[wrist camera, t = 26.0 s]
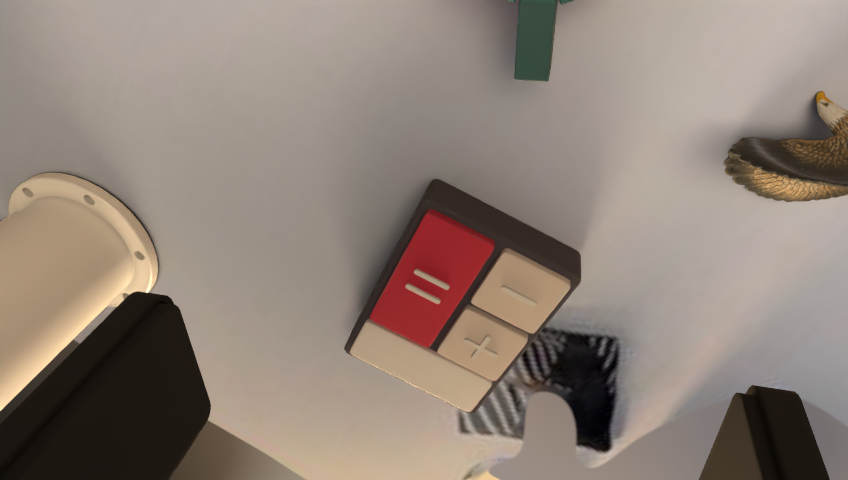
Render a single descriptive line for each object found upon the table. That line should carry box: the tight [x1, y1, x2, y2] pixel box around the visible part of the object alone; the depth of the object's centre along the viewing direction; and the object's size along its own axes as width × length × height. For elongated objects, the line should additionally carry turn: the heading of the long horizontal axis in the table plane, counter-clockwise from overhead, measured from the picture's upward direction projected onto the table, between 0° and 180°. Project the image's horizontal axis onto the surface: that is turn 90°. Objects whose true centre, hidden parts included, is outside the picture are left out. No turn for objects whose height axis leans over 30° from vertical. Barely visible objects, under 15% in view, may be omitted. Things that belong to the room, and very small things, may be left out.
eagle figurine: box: [724, 91, 848, 202], centre depth 29 cm, size 8×7×9 cm
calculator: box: [344, 179, 581, 414], centre depth 41 cm, size 11×4×15 cm
